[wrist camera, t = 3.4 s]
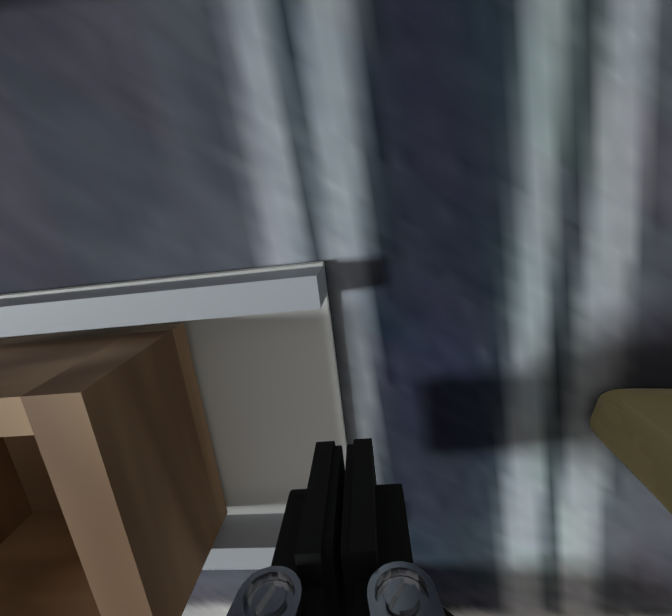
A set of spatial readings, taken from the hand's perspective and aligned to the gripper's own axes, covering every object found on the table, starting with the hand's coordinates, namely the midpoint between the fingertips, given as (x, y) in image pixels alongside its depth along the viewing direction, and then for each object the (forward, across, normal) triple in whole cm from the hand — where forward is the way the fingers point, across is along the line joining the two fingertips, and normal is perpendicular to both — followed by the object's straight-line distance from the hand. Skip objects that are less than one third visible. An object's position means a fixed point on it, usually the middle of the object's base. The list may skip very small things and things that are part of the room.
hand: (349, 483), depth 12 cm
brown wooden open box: (+3, +10, -1) cm, 10 cm away
